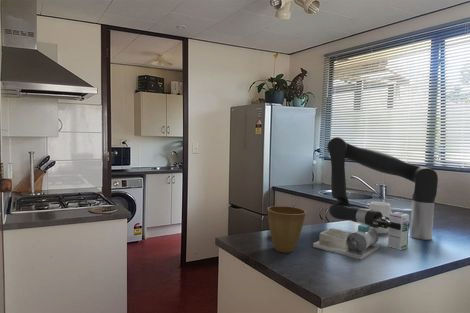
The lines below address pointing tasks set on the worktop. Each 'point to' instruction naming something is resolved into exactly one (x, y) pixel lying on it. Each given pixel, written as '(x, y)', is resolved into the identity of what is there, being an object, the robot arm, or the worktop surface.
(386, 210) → the cup
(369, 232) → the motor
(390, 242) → the syrup box
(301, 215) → the plant pot
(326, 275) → the worktop surface
